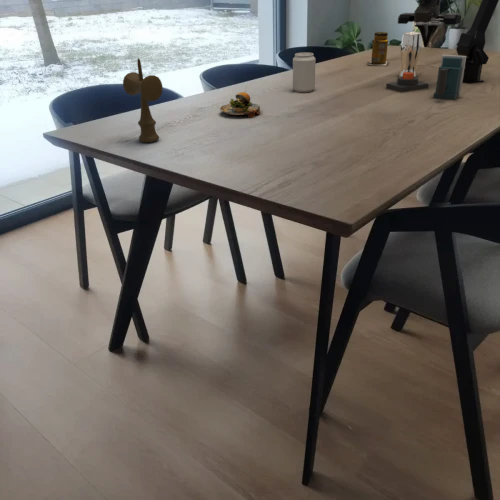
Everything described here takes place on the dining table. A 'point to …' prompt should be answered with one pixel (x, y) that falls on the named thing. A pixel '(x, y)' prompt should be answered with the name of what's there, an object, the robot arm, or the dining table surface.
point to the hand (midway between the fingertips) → (425, 47)
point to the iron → (450, 77)
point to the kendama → (144, 100)
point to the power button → (408, 75)
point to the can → (304, 72)
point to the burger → (241, 106)
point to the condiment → (379, 49)
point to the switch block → (406, 85)
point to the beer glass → (410, 51)
